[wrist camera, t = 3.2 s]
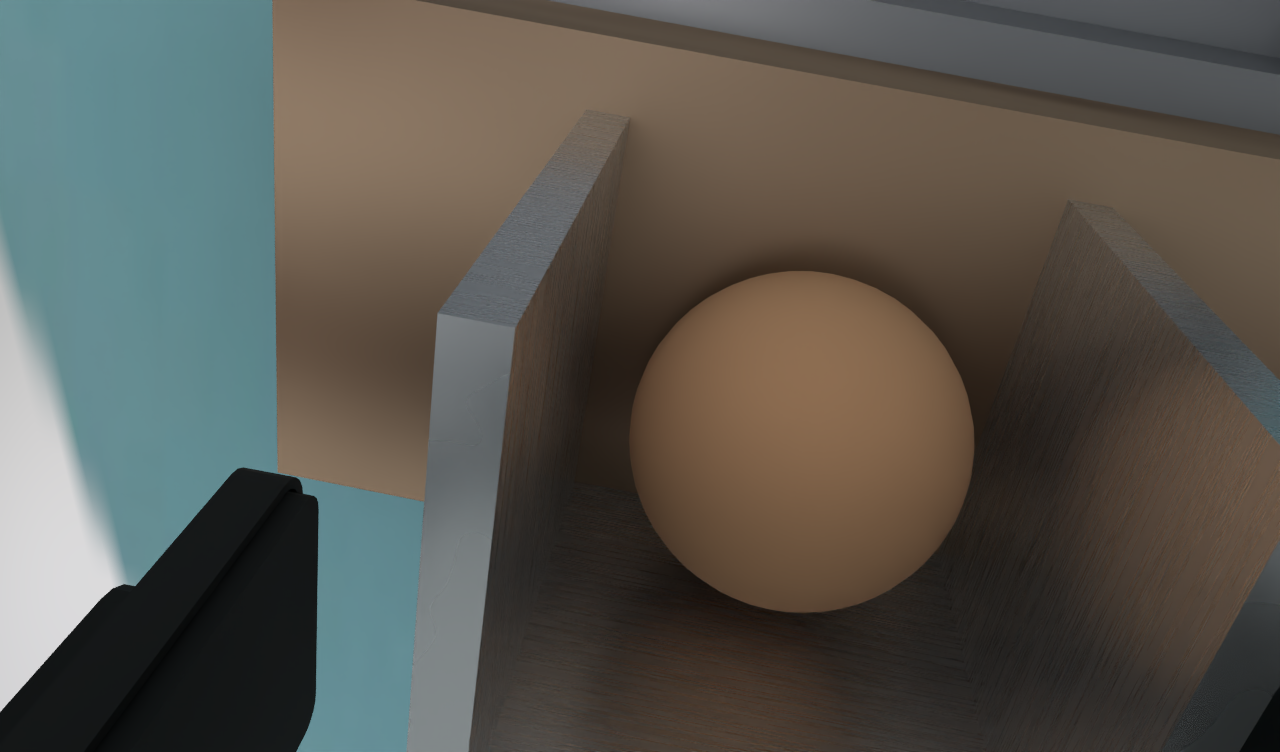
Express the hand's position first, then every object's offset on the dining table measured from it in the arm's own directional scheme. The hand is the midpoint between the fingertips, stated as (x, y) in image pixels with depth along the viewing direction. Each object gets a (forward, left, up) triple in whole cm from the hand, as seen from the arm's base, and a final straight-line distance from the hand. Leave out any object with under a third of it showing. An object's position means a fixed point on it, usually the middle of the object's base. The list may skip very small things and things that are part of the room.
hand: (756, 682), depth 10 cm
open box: (-1, 0, -6) cm, 6 cm away
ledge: (-1, 0, -11) cm, 11 cm away
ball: (-1, 0, -4) cm, 4 cm away
